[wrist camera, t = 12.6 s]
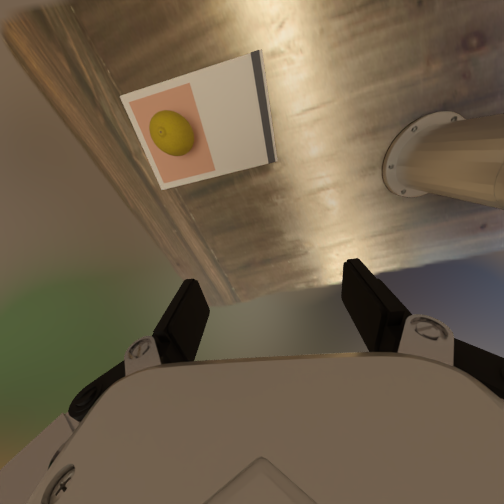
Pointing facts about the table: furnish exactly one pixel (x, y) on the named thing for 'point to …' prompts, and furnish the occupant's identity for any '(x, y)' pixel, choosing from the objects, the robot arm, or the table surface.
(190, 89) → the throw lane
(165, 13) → the table surface
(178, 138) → the lemon
